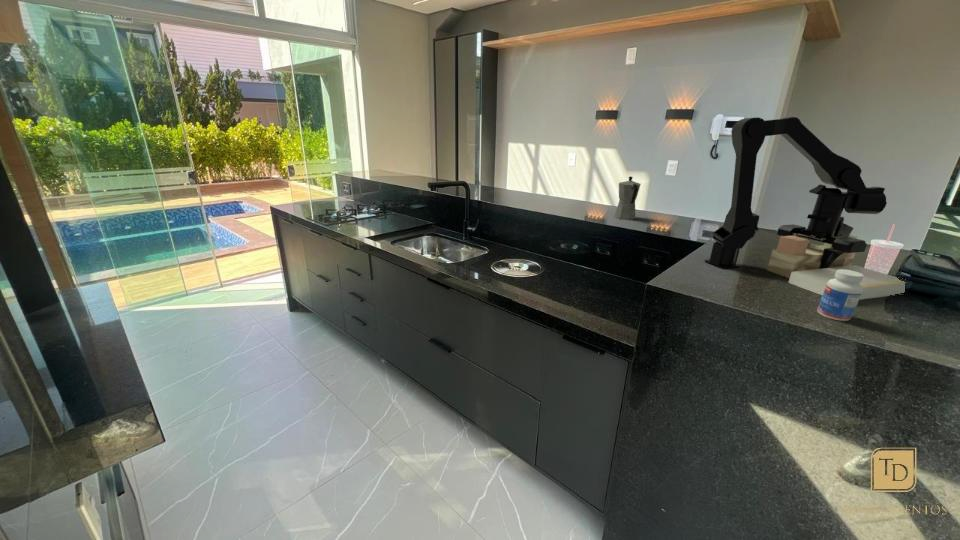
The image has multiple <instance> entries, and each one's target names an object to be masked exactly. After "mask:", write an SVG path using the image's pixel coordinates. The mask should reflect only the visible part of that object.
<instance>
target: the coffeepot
mask: <svg viewBox="0 0 960 540" xmlns="http://www.w3.org/2000/svg"><path fill="white" fill-rule="evenodd" d="M633 178H634V177H633V176H628V180H625V181H621V182H619V183H618V199H619V201H618V204H617V207H616V211H615V214H614V218H616V219H618V220H623V221H624V220H627V221H630V220H632V221H633V220H635V219H636V200H637V196H638V194H639V191H640V187H641V183H639V182H636V181H633Z"/></svg>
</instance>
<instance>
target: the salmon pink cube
mask: <svg viewBox="0 0 960 540" xmlns="http://www.w3.org/2000/svg"><path fill="white" fill-rule="evenodd" d="M807 239H808V238H807ZM807 239H803V238H799V237H795V236H780V237H779V240H778V243H777V247H776V249H777V250H776V251H779V252H782V253H785V254H789V255H792V256H796V255H805V252H806V249H807V246H808V243H810V239H809V240H807Z"/></svg>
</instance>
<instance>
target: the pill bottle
mask: <svg viewBox="0 0 960 540" xmlns="http://www.w3.org/2000/svg"><path fill="white" fill-rule="evenodd" d="M863 276H864V275H863V274H861V273H859V272H856V271H851V270H844V269H839V270H837V272H836V274H835V277H836V278H835V279H831V280H829V281H828V282H827V285H826V287H825V290H824V293H823V295H821V299H820V300H819V304H818V307H817V309H816V312H817V313H818V314H819V315H821V316H823V317H824V318H827V319H830V320H836V321H842V322H846V321H847V322H848V321H849V320H851V319H852V317H853V315H854V313H855V311H856V309H857V305H858V303H859V301H860V300H859V299H860V296H861V294H862V291H863V287H862V286H861V285H860V284H859V283H860V282H861V281H862V279H863Z"/></svg>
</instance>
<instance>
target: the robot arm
mask: <svg viewBox="0 0 960 540" xmlns="http://www.w3.org/2000/svg"><path fill="white" fill-rule="evenodd" d="M730 132H731V143H732V146H733V150H734V153H735V161H734V162H735V164H734V173H733V174H734V175H733V183H732V192H731V193H732V195H731V205H730V208H729V210H728V212H727V214H726V216H725V218H724V221H723V225H722V226H721V227H719V228H718V229H716V230H715V231H713V232H712V233H711V234H712V239H713V240H714V241H715V242H713V244H712V249H711V252H710V256H709V259H705V260H704V262H706V263H708V264H710V265H713V266H716V267H718V268H721V269H729V268H730V269H732V268H740V267H741V265H740V264H738V263H737V262H738V257H739V254H740V249H741V250H742V249H743V248H744V247H745V245H746V243H747V242H748V241H750V240H751V239H752V238H754V236H755V234H756V232H757V231H759V227H758V224H759V221H760V215H759V214H756V213H754V212H753V210H752V202H753V200H752V199H753V193H754V183H755V173H756V168H757V167H756V166H757V165H756V164H757V156H758V153H759V151H760V149H761V148H762V146H763V144H764V141H765V139H766V137H769V136H771V137H772V136H779V135H780V136H782V137H783V138H784V139H785V140H786V141H787V142H788V143H789V144H791V145H792V146H793V147H794V148H795V149H796V150H797V151H798V152H799V153H800V154H801V155H802V156H803V157H805V158H806V159H807V160H808V161H809V163H811V164H812V165H813V169H814V173H815V174H816V176H817V177H818V178H819V179H820V181H821V183H823V184H818V185H817V186H816V187H813V188H812V189H811V188H810V190H809V191H808V193H810V194H814V195H817V197H816V200H815V204H814V207H813V210H812V213H809V214H808V215H807V219H809V222H808V224H807V225H808V226H807V228H806V226H801V225H798V224H797V225H796V224H781V225H780V226H779V227H778V228H777V231H776V235H777V236H780V237H781V236H795V237H799V238H803V239H807V240H809V241H810V240H812V241H816V242H820V243H823V244H824V243H828V244H832V245H831V248H825V249H824V251H823V256H822V260H821V264H820V269H824V268H828V267H829V266H830V265H831V264H832V263H833V261H834V260H835V259H837V258H838V257H839V256H840V255H842V254H843V253H855V254H856V253H864V252H865V251H866V249H867V247H868V245H867V243H866V240H863V239H859V238H856V239H855V238H851V237H849V235H851V233H852V232H853V230H854V227H852V226H850V225H848V224H846V223H844V222H845V217H844V216H842V214H843V211H845V212H846V213H848V214H862V215H863V214H864V215H878V214H880V213H882V212H883V211H884V209H885V208H886V206H887V204H888V202H887V195H886V194H885V193H884V192H885V189H886V188H885V187H882V186H871V187H870V186H869V187H867V186H866V184H865V182H864V180H863V178H862V176H861V174H862V169H861V166H860V165H858V164H856V163H855V162H853V161H851V160H849V159H848V158H845V157H844V156H842V155H840V154H839V155H838V154H837V153H835V152H833V151H832V150H831V149H830V148H829V147H828V146H827V145H826V144H825V143H824V142H822V141H821V139H819V138H818V137H817V136H816V135H815V134H814V133H813V132H811V130H809V128H808V127H806V126H805V125H804V124H803V123H802V122H801V120H800V118H798V117H797V116H796V117H795V116H789V117H788V116H787V117H782V118H779V119H767V120H765V119H763V118H761V117H745V118H741V119H740V120H738V121H737V122H735V123H734V124H733V125H732V128H731V131H730ZM827 185H830V186H833V187H827ZM842 190H845V191H846V192H845V191H842ZM834 236H836V237H840V236H843V237H845V238H834Z"/></svg>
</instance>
